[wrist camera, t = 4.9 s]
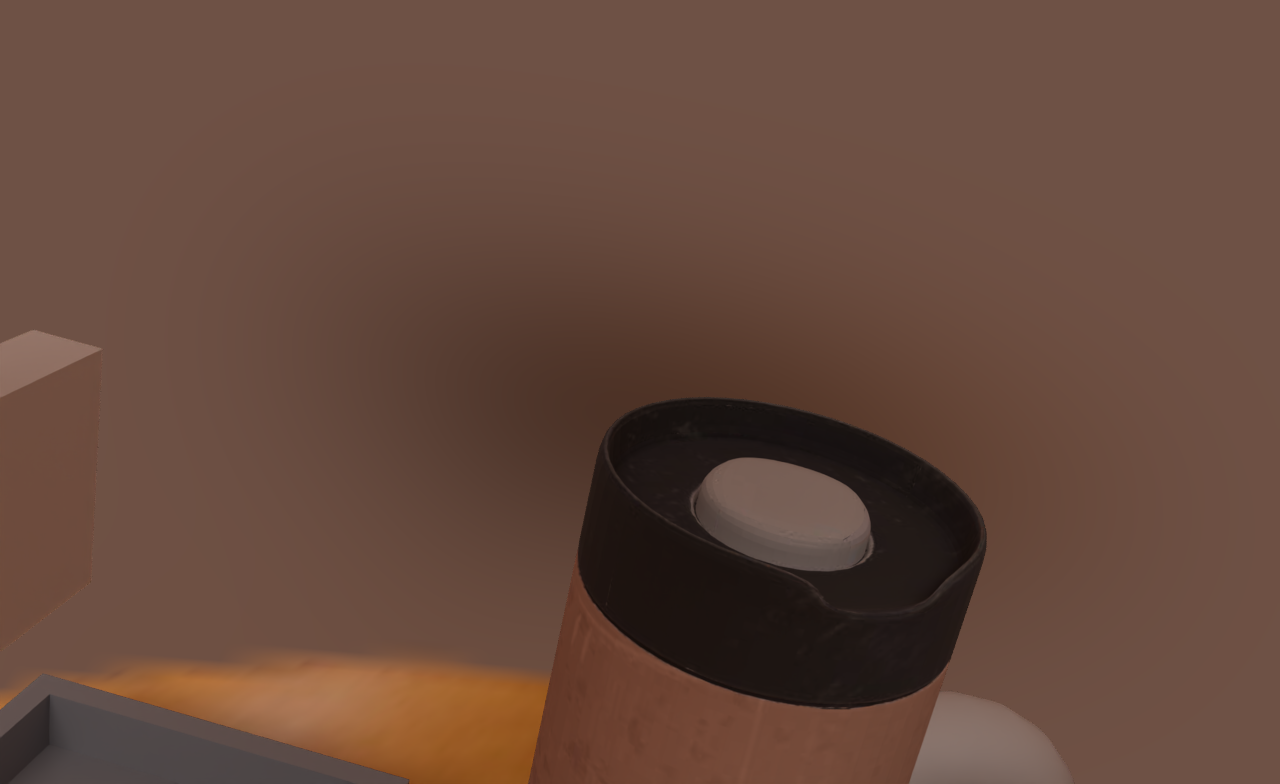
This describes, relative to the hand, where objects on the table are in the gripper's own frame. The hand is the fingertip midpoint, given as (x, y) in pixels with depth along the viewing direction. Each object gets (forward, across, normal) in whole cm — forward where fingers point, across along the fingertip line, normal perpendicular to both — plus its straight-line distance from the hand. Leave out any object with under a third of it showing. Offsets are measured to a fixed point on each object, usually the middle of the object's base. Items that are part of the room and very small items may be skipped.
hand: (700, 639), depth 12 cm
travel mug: (+11, +1, -23) cm, 25 cm away
